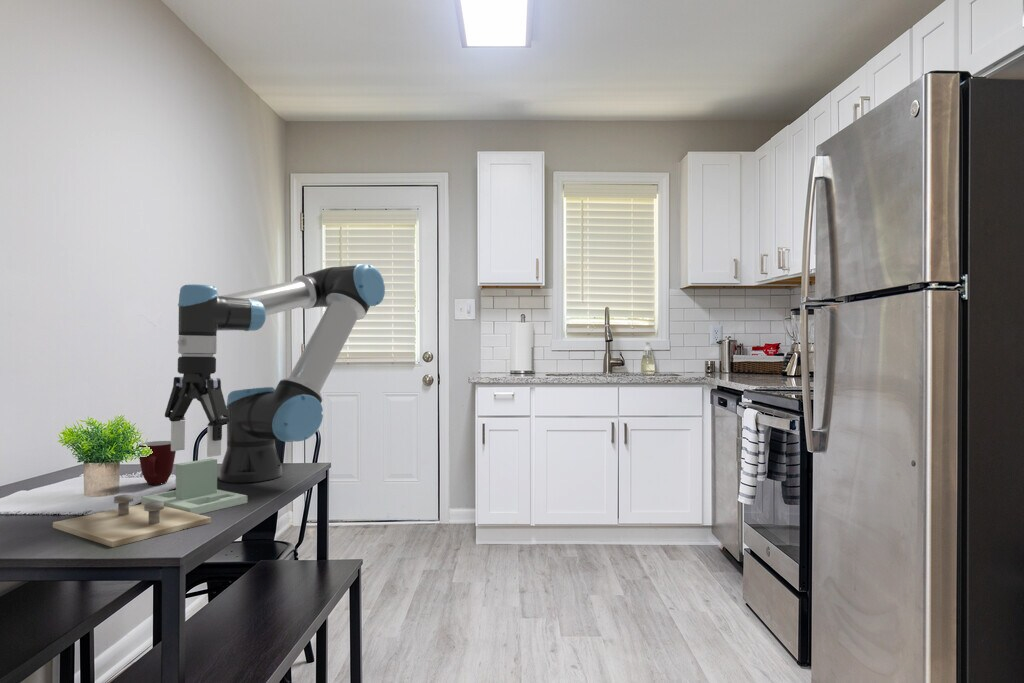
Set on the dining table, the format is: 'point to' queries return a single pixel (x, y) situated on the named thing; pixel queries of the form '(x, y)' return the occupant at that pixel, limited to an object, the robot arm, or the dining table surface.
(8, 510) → the dining table surface
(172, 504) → the panel
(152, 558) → the dining table surface
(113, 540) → the boss board
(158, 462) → the mug
